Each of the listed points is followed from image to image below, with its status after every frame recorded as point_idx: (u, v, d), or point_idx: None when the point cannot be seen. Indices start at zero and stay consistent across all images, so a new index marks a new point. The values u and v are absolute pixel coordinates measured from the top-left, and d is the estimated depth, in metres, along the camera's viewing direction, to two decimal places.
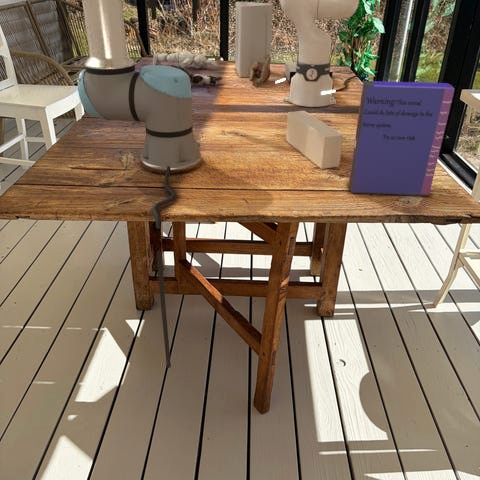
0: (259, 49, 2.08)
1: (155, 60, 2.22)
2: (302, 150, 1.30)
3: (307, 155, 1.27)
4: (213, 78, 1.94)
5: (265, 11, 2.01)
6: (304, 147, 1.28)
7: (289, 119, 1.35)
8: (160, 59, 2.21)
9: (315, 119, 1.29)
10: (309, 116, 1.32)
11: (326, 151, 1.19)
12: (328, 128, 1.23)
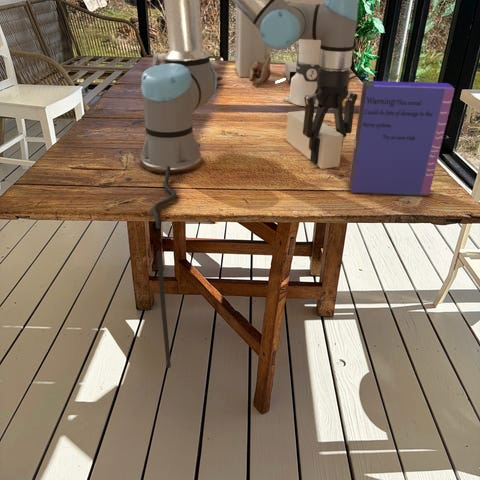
0: (259, 49, 2.08)
1: (155, 60, 2.22)
2: (302, 150, 1.30)
3: (307, 155, 1.27)
4: None
5: None
6: (304, 147, 1.28)
7: (289, 119, 1.35)
8: (160, 59, 2.21)
9: None
10: None
11: (326, 151, 1.19)
12: (328, 128, 1.23)
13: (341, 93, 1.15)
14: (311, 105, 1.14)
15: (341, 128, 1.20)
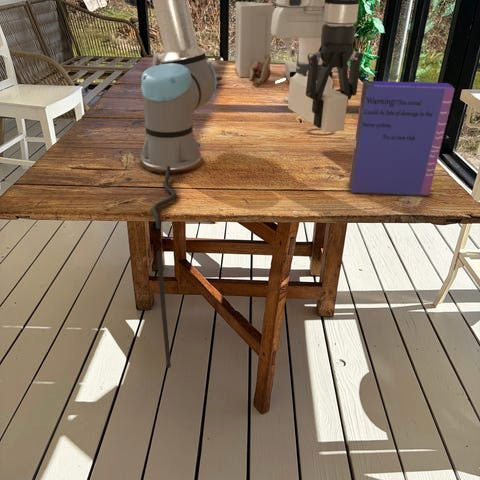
0: (259, 49, 2.08)
1: (155, 60, 2.22)
2: (305, 115, 1.25)
3: (310, 120, 1.22)
4: None
5: (265, 11, 2.01)
6: (306, 112, 1.24)
7: (291, 84, 1.30)
8: (160, 59, 2.21)
9: None
10: None
11: (330, 114, 1.14)
12: (332, 90, 1.18)
13: (346, 51, 1.10)
14: (315, 63, 1.09)
15: (346, 89, 1.15)
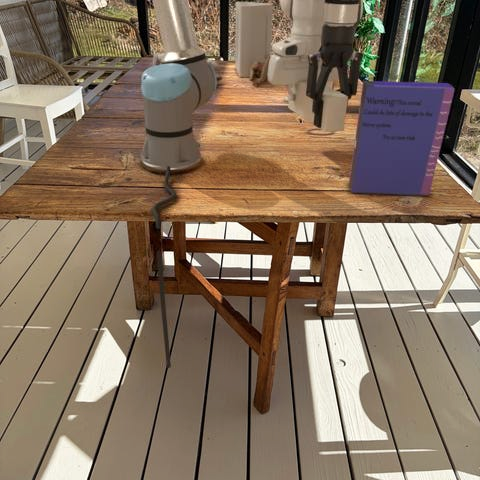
0: (259, 49, 2.08)
1: (155, 60, 2.22)
2: (305, 115, 1.25)
3: (310, 120, 1.22)
4: None
5: (265, 11, 2.01)
6: (307, 112, 1.24)
7: None
8: (160, 59, 2.21)
9: None
10: None
11: (330, 114, 1.14)
12: (332, 90, 1.18)
13: (346, 51, 1.10)
14: (315, 63, 1.09)
15: (346, 89, 1.15)
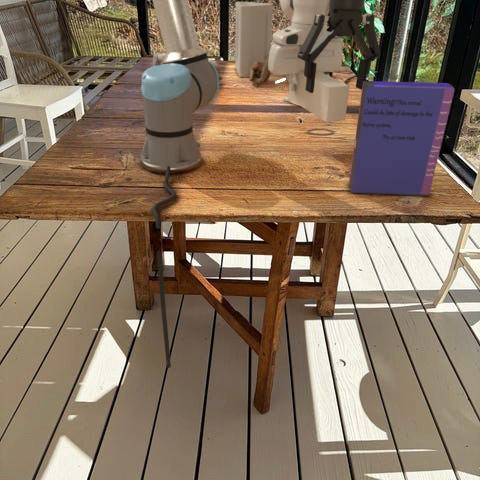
0: (259, 49, 2.08)
1: (155, 60, 2.22)
2: (306, 106, 1.24)
3: (311, 110, 1.21)
4: None
5: (265, 11, 2.01)
6: (307, 102, 1.22)
7: None
8: (160, 59, 2.21)
9: (319, 73, 1.23)
10: None
11: (331, 103, 1.13)
12: (333, 80, 1.17)
13: (355, 19, 1.05)
14: (320, 24, 1.03)
15: (367, 53, 1.10)
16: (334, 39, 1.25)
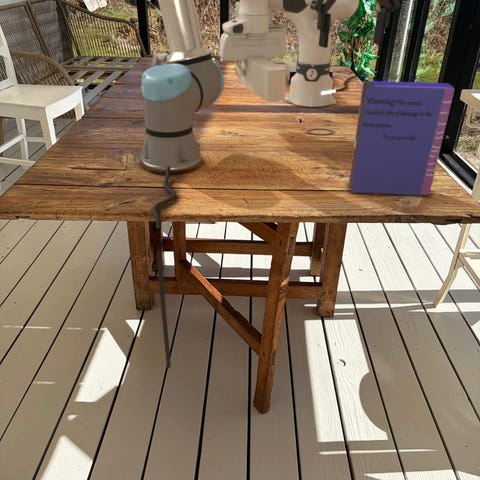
0: None
1: (155, 60, 2.22)
2: (253, 88, 1.39)
3: (256, 92, 1.36)
4: None
5: None
6: (254, 84, 1.38)
7: None
8: (160, 59, 2.21)
9: (264, 59, 1.38)
10: (260, 57, 1.41)
11: (270, 85, 1.28)
12: (274, 64, 1.32)
13: None
14: None
15: (385, 3, 1.01)
16: (278, 29, 1.40)
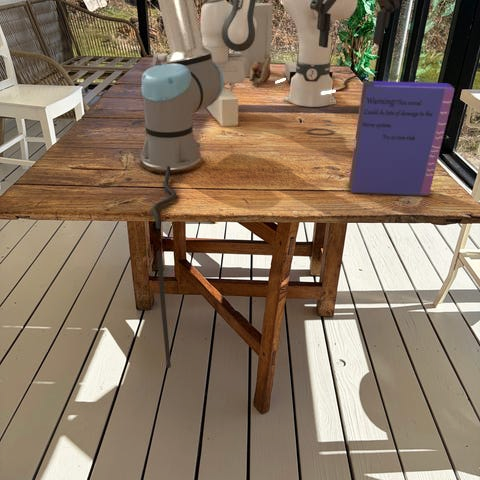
0: (259, 49, 2.08)
1: (155, 60, 2.22)
2: (213, 113, 1.58)
3: (215, 117, 1.56)
4: None
5: (265, 11, 2.01)
6: (213, 110, 1.57)
7: None
8: (160, 59, 2.21)
9: (224, 88, 1.57)
10: None
11: (224, 112, 1.47)
12: (229, 93, 1.51)
13: None
14: None
15: (385, 3, 1.01)
16: (237, 58, 1.58)
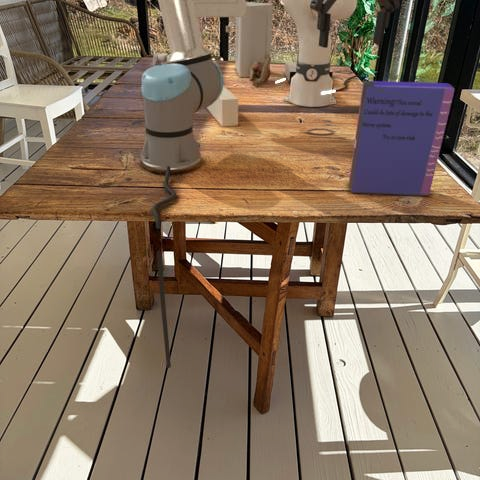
0: (259, 49, 2.08)
1: (155, 60, 2.22)
2: (213, 113, 1.58)
3: (215, 117, 1.56)
4: None
5: (265, 11, 2.01)
6: (213, 110, 1.57)
7: None
8: (160, 59, 2.21)
9: (224, 88, 1.57)
10: None
11: (224, 112, 1.47)
12: (229, 93, 1.51)
13: None
14: None
15: (385, 3, 1.01)
16: None
